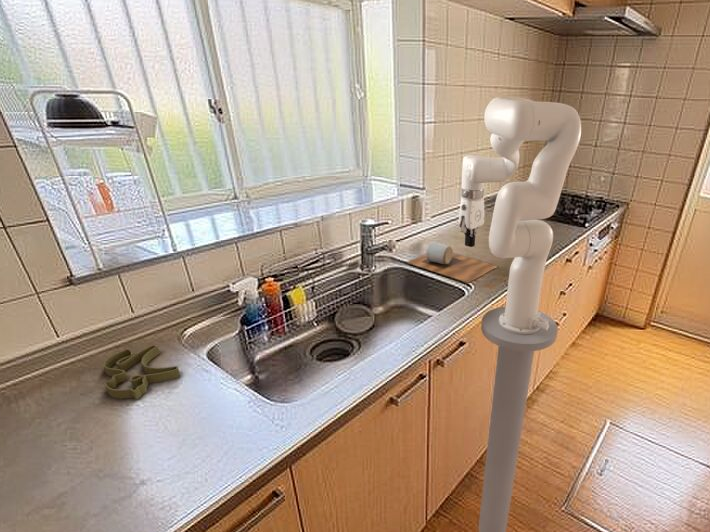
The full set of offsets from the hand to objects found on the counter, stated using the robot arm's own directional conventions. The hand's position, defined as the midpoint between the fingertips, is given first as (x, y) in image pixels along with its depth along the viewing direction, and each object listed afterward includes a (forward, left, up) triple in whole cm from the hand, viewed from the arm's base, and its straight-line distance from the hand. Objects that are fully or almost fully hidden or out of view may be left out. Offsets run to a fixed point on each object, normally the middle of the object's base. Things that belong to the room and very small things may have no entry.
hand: (469, 245), depth 150 cm
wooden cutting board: (+7, 0, -9) cm, 12 cm away
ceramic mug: (+12, 0, -9) cm, 15 cm away
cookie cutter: (+21, +98, -10) cm, 100 cm away
